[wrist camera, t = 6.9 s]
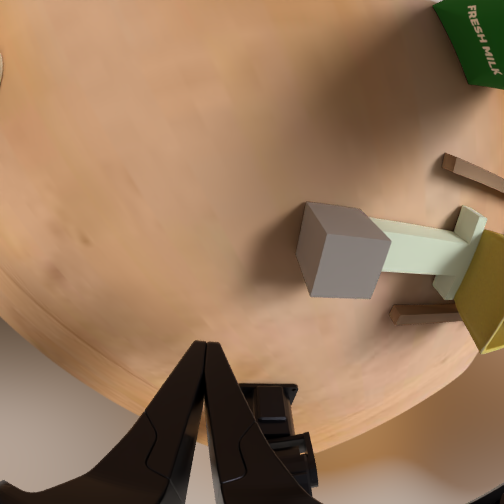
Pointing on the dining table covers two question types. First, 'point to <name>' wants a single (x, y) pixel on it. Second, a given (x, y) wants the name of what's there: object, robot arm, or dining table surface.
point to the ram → (380, 250)
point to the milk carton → (476, 38)
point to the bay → (445, 311)
